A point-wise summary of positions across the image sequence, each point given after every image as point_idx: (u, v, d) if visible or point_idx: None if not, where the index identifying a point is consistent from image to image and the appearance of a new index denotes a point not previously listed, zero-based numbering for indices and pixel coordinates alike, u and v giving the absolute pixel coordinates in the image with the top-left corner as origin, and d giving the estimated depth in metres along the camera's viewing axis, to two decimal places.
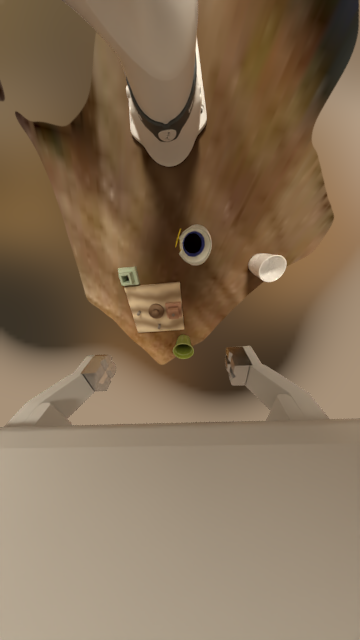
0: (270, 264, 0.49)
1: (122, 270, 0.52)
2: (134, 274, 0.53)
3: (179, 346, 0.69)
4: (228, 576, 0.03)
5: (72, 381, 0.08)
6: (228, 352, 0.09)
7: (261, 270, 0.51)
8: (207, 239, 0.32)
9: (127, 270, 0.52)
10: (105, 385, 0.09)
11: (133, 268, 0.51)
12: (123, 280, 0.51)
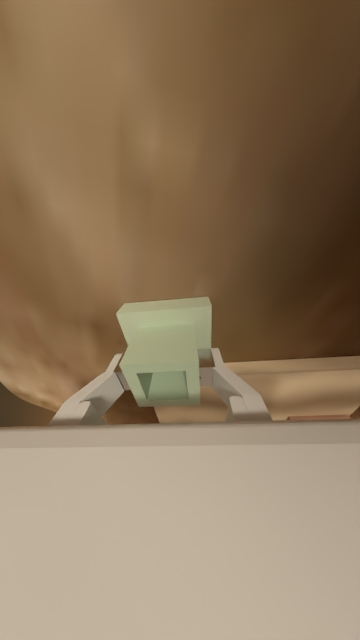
0: None
1: (141, 320, 0.10)
2: (201, 337, 0.10)
3: None
4: (228, 576, 0.03)
5: (106, 380, 0.08)
6: None
7: None
8: None
9: (168, 320, 0.10)
10: None
11: (203, 311, 0.09)
12: (148, 378, 0.09)
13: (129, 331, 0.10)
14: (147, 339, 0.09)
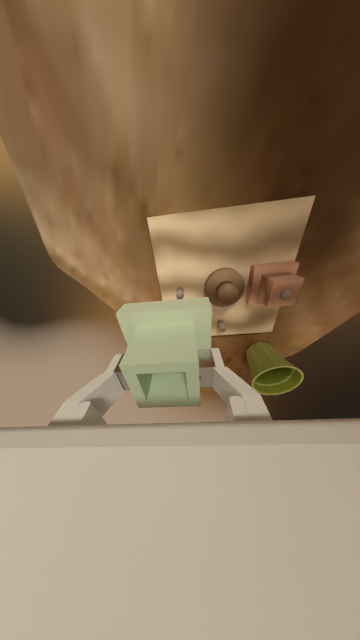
0: None
1: (141, 320, 0.10)
2: (201, 337, 0.10)
3: None
4: (228, 576, 0.03)
5: (106, 380, 0.08)
6: None
7: None
8: None
9: (168, 321, 0.10)
10: None
11: (203, 311, 0.09)
12: (147, 378, 0.09)
13: (129, 331, 0.10)
14: (147, 340, 0.09)
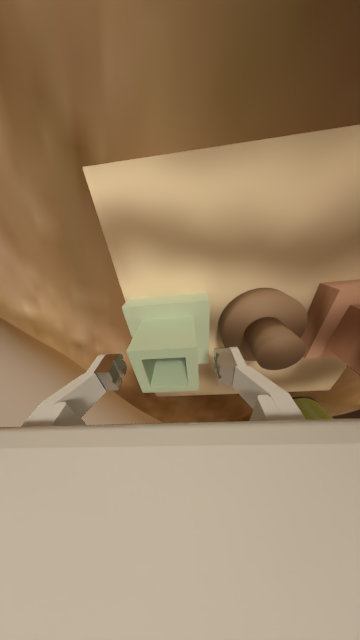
0: None
1: (145, 313, 0.10)
2: (200, 330, 0.11)
3: None
4: (228, 576, 0.03)
5: (85, 381, 0.08)
6: (215, 353, 0.09)
7: None
8: None
9: (170, 314, 0.10)
10: (117, 385, 0.09)
11: (202, 305, 0.10)
12: (151, 366, 0.10)
13: (133, 324, 0.11)
14: (150, 330, 0.09)
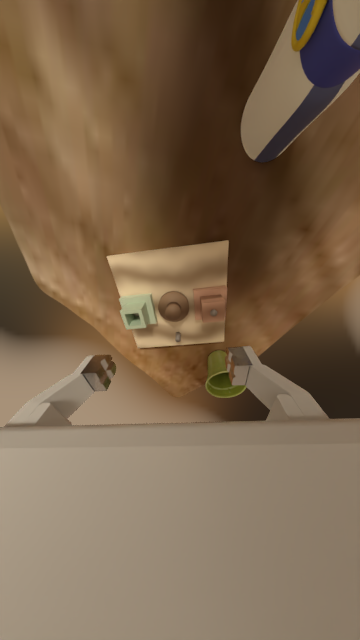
0: None
1: (127, 301, 0.28)
2: (149, 307, 0.29)
3: None
4: (228, 576, 0.03)
5: (72, 381, 0.08)
6: (228, 352, 0.09)
7: None
8: None
9: (136, 301, 0.28)
10: (105, 385, 0.09)
11: (147, 297, 0.28)
12: (129, 320, 0.28)
13: (123, 305, 0.29)
14: (128, 306, 0.27)
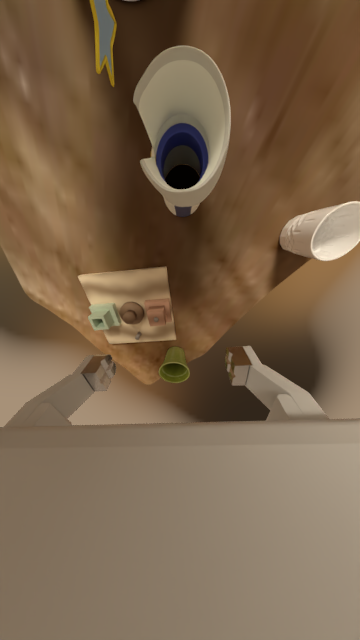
0: (321, 233, 0.28)
1: (95, 309, 0.37)
2: (112, 313, 0.38)
3: (169, 363, 0.49)
4: (228, 576, 0.03)
5: (72, 381, 0.08)
6: (228, 352, 0.09)
7: None
8: (216, 119, 0.12)
9: (102, 309, 0.37)
10: (105, 385, 0.09)
11: (110, 306, 0.37)
12: (96, 323, 0.37)
13: (93, 312, 0.38)
14: (95, 313, 0.36)
